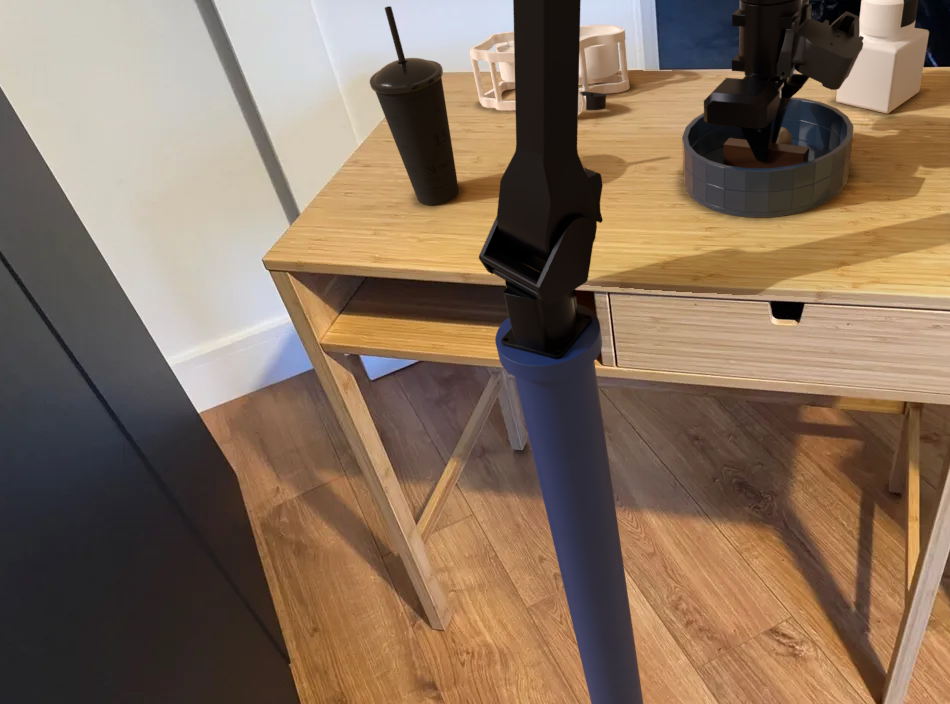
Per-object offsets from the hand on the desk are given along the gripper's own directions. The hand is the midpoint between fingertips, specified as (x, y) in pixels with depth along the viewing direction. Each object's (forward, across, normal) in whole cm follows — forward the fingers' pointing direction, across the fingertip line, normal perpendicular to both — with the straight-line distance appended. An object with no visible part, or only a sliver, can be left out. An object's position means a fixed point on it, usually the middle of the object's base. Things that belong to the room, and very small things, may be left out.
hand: (765, 156), depth 86 cm
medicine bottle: (+2, +22, -6) cm, 23 cm away
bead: (0, +4, 0) cm, 4 cm away
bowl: (+2, 0, 0) cm, 2 cm away
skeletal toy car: (+2, +15, +35) cm, 38 cm away
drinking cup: (+2, -14, +34) cm, 37 cm away
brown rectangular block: (+1, 0, 0) cm, 1 cm away
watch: (0, +10, +28) cm, 30 cm away
